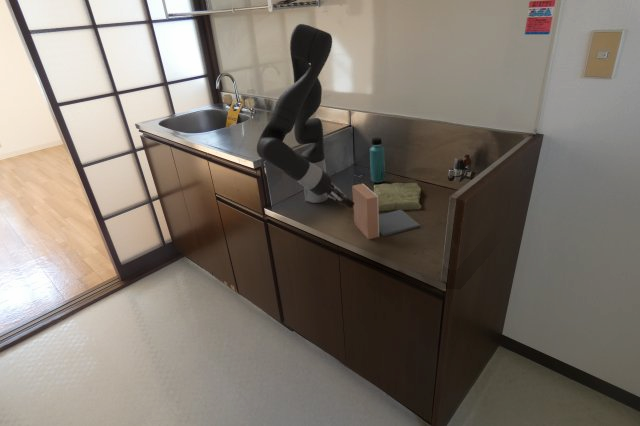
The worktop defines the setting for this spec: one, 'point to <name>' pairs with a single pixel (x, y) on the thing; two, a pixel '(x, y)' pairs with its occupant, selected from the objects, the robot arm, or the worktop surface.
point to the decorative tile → (398, 196)
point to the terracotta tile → (366, 210)
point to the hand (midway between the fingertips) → (352, 204)
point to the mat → (395, 222)
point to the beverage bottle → (377, 161)
